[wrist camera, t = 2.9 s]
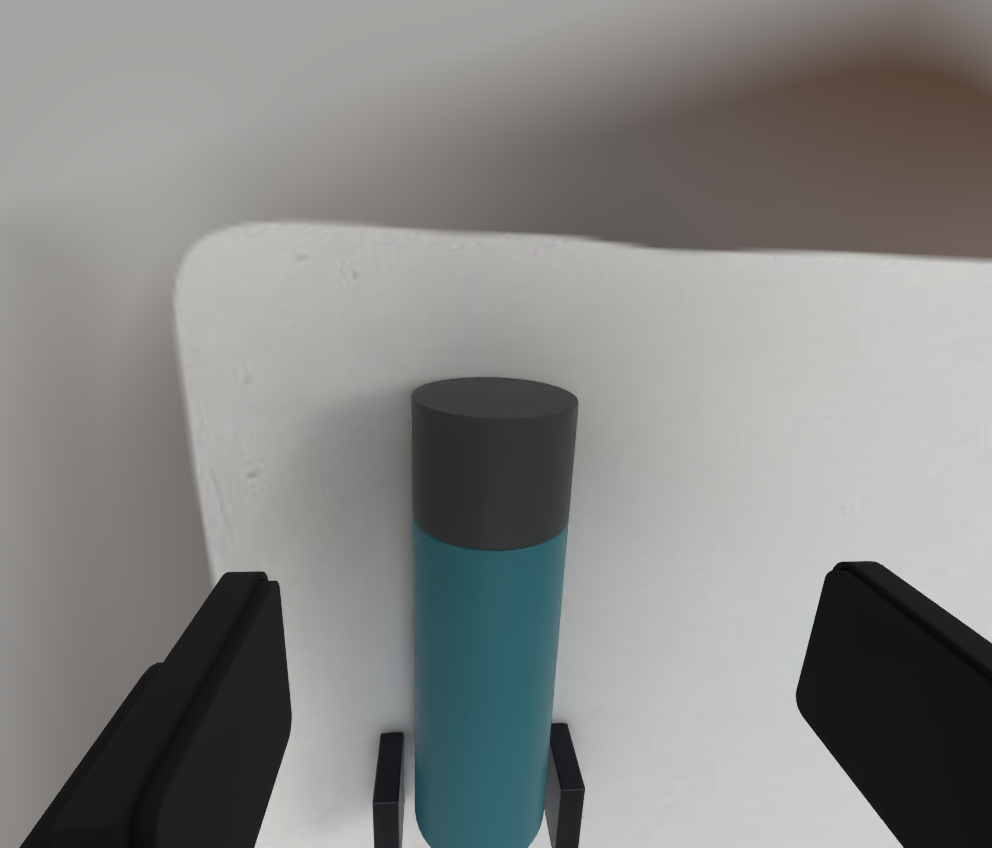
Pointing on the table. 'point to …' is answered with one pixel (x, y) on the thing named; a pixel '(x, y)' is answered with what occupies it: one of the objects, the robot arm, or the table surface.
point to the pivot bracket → (559, 801)
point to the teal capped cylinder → (487, 602)
